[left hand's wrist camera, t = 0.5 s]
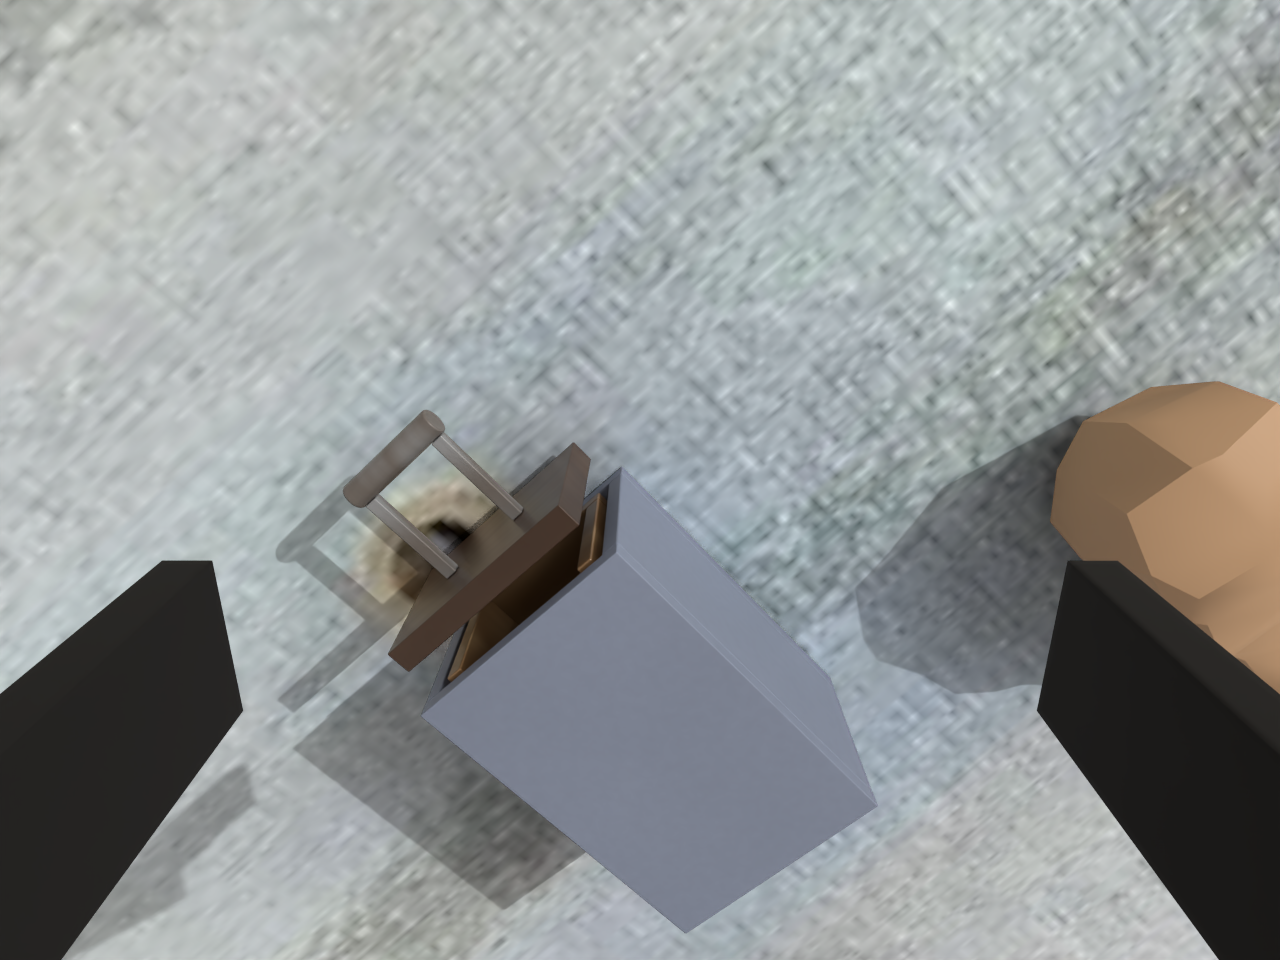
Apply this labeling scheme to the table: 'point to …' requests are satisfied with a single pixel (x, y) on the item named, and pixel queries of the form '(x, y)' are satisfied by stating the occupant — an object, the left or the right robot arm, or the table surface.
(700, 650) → the cabinet
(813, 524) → the table surface
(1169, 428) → the squash
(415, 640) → the drawer
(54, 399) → the table surface
